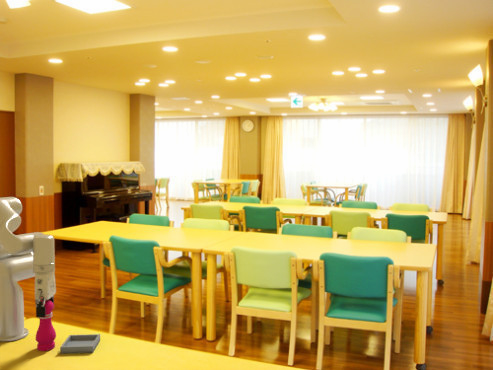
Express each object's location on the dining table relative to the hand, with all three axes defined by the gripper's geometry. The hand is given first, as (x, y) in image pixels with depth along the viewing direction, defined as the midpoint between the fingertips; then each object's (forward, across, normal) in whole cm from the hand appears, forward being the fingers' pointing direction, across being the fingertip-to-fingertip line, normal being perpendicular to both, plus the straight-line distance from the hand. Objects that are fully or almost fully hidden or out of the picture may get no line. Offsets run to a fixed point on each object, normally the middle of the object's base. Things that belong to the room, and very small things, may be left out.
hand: (45, 312), depth 180 cm
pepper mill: (+14, 0, 0) cm, 14 cm away
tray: (+14, 0, -13) cm, 19 cm away
